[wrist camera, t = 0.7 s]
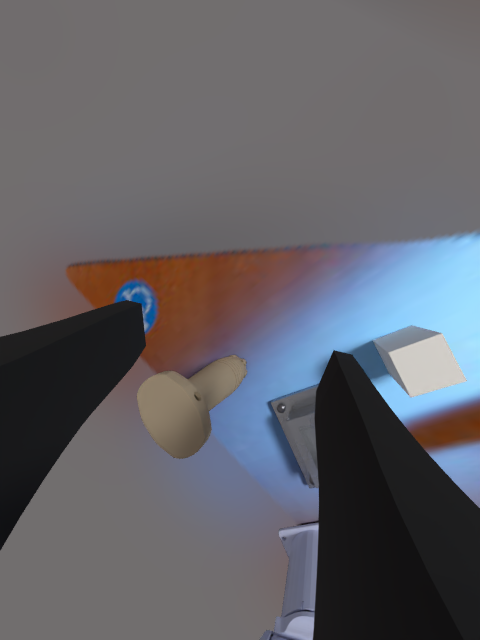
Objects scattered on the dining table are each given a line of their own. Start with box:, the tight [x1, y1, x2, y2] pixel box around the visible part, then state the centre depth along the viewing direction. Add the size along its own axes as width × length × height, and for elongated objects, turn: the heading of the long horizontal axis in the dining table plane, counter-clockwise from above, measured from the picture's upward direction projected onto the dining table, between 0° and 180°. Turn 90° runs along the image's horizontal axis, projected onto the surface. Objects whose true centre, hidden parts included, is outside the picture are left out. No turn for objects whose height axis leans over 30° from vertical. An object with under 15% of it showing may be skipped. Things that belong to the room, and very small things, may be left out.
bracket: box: [271, 384, 319, 488], centre depth 27 cm, size 11×11×4 cm
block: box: [373, 325, 467, 397], centre depth 23 cm, size 4×4×7 cm
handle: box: [137, 355, 247, 459], centre depth 25 cm, size 5×6×15 cm
